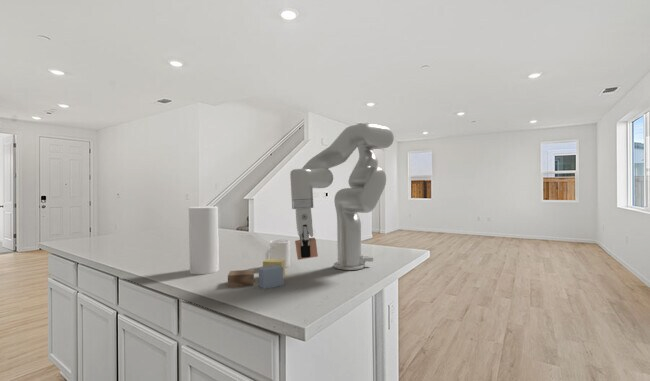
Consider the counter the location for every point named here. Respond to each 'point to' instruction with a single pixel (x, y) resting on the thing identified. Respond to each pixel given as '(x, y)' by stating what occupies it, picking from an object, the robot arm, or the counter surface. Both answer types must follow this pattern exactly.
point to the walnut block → (241, 278)
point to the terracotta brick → (312, 248)
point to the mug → (279, 251)
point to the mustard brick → (275, 263)
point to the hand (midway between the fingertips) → (305, 255)
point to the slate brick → (270, 276)
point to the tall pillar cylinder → (203, 239)
